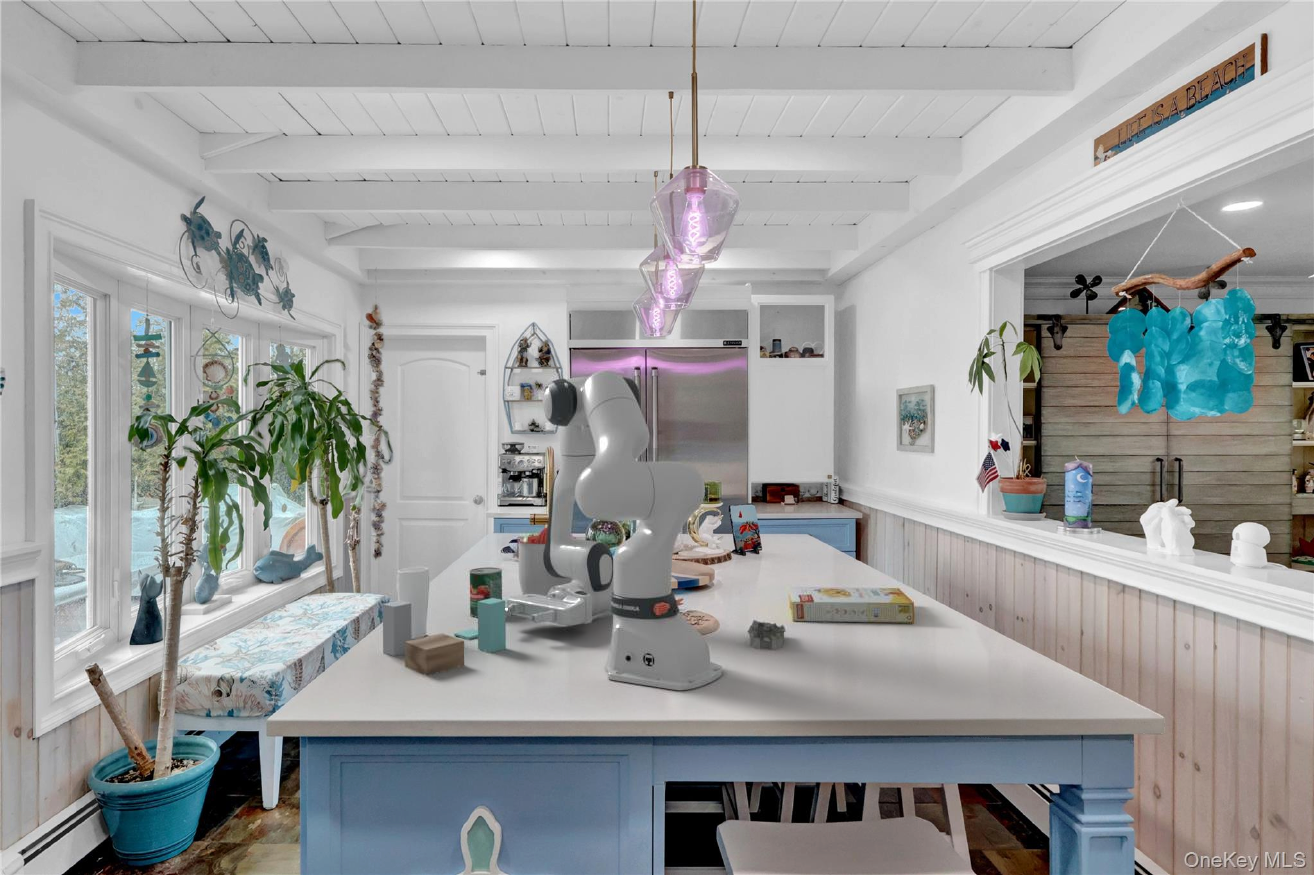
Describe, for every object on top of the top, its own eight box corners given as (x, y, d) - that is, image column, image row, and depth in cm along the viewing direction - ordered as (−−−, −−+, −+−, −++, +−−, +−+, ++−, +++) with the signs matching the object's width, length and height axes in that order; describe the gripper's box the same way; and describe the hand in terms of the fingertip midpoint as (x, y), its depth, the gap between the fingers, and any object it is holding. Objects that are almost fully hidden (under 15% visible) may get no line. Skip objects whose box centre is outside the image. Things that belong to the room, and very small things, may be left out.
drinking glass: (403, 642, 158) (402, 573, 158) (393, 636, 163) (393, 568, 163) (434, 637, 162) (433, 569, 162) (423, 631, 167) (423, 565, 167)
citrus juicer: (529, 594, 206) (528, 522, 206) (586, 597, 201) (585, 524, 201) (500, 606, 192) (500, 529, 192) (561, 610, 186) (560, 531, 186)
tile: (487, 634, 164) (486, 632, 164) (468, 639, 160) (468, 637, 160) (472, 631, 167) (472, 628, 167) (454, 636, 163) (454, 633, 163)
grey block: (411, 651, 152) (411, 603, 152) (394, 656, 148) (393, 606, 148) (400, 648, 154) (399, 600, 154) (383, 652, 151) (382, 604, 151)
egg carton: (782, 652, 150) (782, 631, 150) (745, 649, 152) (745, 629, 152) (787, 637, 160) (787, 619, 160) (753, 635, 162) (753, 616, 162)
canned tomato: (506, 610, 187) (506, 567, 187) (496, 618, 179) (496, 573, 179) (476, 610, 188) (475, 567, 188) (465, 617, 180) (464, 572, 180)
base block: (464, 666, 142) (464, 640, 142) (426, 676, 136) (426, 649, 136) (442, 658, 148) (442, 633, 148) (405, 667, 142) (404, 641, 142)
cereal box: (915, 601, 170) (791, 599, 173) (915, 625, 169) (791, 622, 173) (898, 585, 190) (787, 583, 193) (898, 607, 190) (787, 605, 193)
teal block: (505, 648, 153) (505, 600, 153) (490, 652, 150) (490, 603, 150) (493, 645, 156) (492, 597, 156) (478, 649, 153) (477, 601, 153)
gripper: (533, 585, 176) (487, 595, 165) (596, 595, 164) (551, 607, 153) (533, 611, 176) (487, 623, 165) (596, 623, 163) (551, 637, 153)
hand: (518, 615), depth 159 cm, fingers open, 8 cm apart
